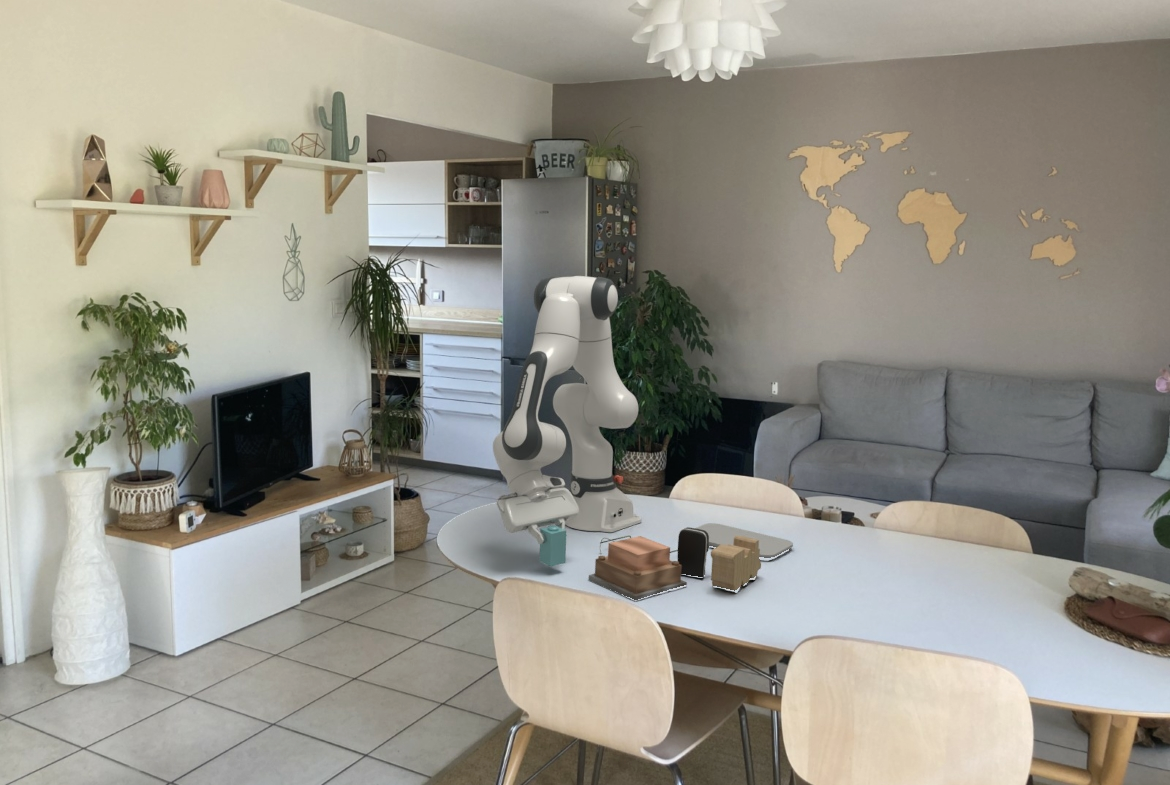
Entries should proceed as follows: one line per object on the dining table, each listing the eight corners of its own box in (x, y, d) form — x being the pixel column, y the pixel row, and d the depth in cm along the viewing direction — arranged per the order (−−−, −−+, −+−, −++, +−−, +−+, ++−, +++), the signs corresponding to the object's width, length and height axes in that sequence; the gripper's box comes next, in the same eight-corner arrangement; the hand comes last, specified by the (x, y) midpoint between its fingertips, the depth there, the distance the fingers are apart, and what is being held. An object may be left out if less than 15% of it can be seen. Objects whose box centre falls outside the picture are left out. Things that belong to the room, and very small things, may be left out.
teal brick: (554, 557, 225) (555, 523, 224) (565, 563, 222) (566, 527, 220) (539, 561, 222) (540, 526, 221) (550, 566, 219) (551, 531, 218)
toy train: (760, 577, 225) (763, 537, 223) (730, 597, 211) (733, 555, 209) (738, 572, 228) (741, 532, 226) (708, 592, 214) (710, 549, 212)
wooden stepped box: (638, 567, 228) (640, 530, 227) (686, 587, 216) (688, 548, 214) (588, 580, 218) (590, 541, 216) (635, 601, 206) (637, 561, 204)
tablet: (709, 529, 263) (710, 521, 263) (796, 550, 248) (797, 542, 247) (679, 542, 250) (680, 534, 250) (769, 565, 235) (770, 556, 234)
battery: (708, 575, 224) (711, 529, 223) (703, 580, 221) (706, 533, 219) (680, 570, 227) (683, 524, 226) (675, 574, 224) (678, 528, 222)
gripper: (499, 490, 218) (523, 541, 212) (568, 477, 231) (592, 526, 225) (488, 504, 222) (511, 555, 217) (556, 491, 235) (580, 539, 229)
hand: (553, 540), depth 221 cm, fingers closed on teal brick, 4 cm apart
